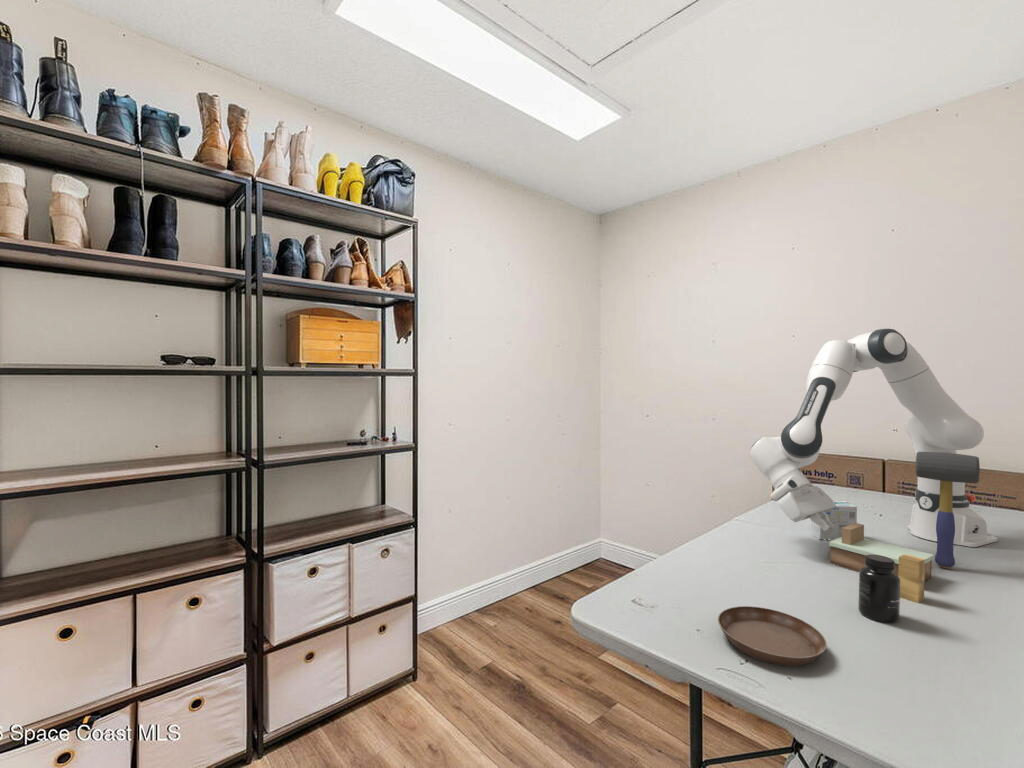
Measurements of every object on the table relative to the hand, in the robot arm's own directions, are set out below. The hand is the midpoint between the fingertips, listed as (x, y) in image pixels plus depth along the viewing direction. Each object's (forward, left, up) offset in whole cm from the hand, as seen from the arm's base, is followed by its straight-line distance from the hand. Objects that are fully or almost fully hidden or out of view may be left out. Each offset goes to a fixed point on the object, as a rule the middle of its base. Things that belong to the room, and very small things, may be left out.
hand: (829, 529), depth 134 cm
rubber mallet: (-23, +13, -8) cm, 28 cm away
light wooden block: (+4, +25, -8) cm, 26 cm away
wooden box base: (-4, +11, -8) cm, 14 cm away
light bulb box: (-15, -13, -8) cm, 21 cm away
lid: (-4, +11, -3) cm, 12 cm away
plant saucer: (+49, +34, -8) cm, 60 cm away
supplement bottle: (+19, +30, -8) cm, 36 cm away
